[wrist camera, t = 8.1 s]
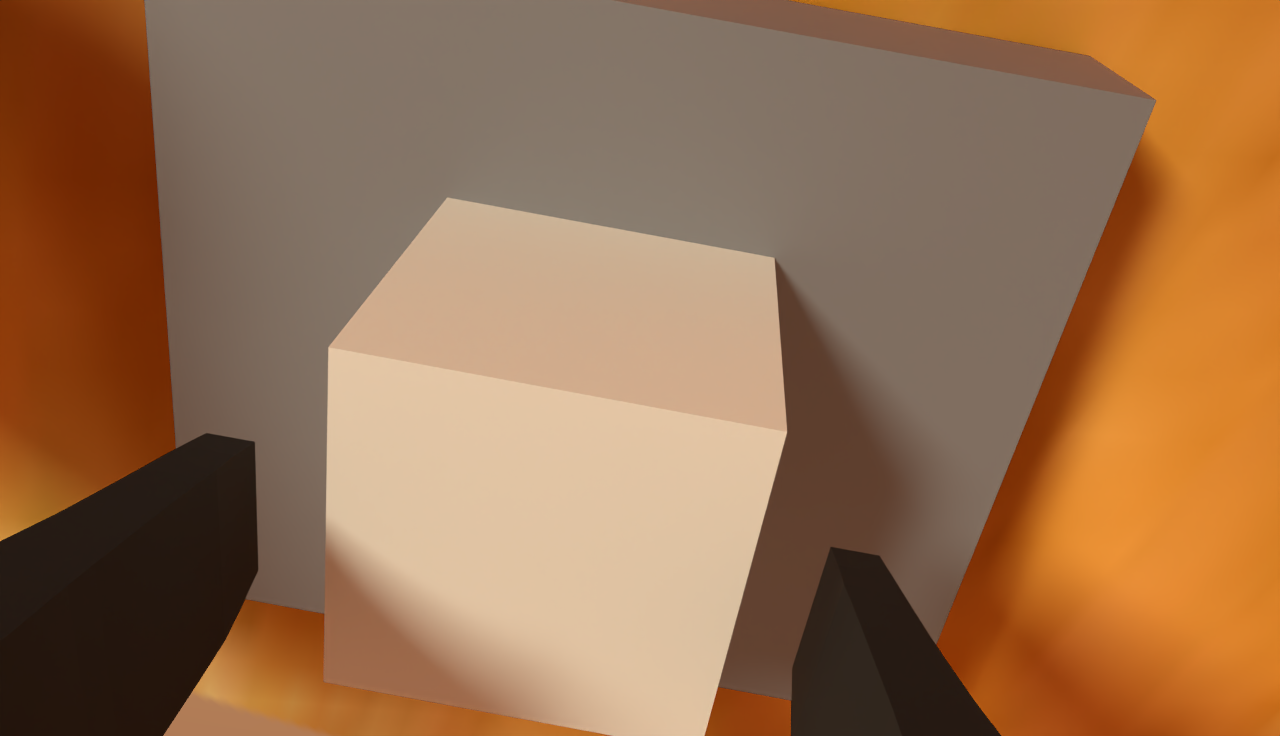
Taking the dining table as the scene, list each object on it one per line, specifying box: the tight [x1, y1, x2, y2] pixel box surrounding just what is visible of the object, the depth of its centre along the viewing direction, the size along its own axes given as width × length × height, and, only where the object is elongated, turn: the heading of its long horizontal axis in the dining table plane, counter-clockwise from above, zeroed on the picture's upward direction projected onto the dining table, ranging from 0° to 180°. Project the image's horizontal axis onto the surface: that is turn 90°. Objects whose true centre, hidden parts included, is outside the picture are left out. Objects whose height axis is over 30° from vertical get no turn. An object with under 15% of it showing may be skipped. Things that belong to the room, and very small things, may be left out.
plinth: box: [144, 0, 1156, 700], centre depth 18 cm, size 14×12×3 cm
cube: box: [324, 197, 787, 736], centre depth 14 cm, size 5×5×5 cm
